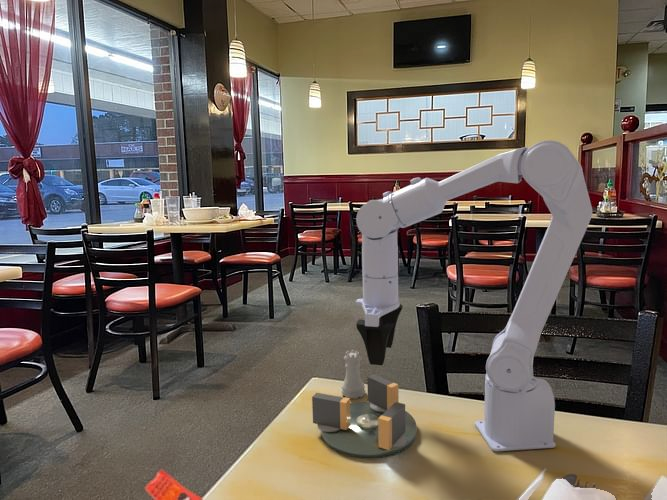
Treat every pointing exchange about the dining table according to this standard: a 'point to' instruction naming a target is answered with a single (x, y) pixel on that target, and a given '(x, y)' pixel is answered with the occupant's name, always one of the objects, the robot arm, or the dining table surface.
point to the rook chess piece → (353, 376)
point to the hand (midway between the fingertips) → (381, 355)
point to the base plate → (366, 434)
